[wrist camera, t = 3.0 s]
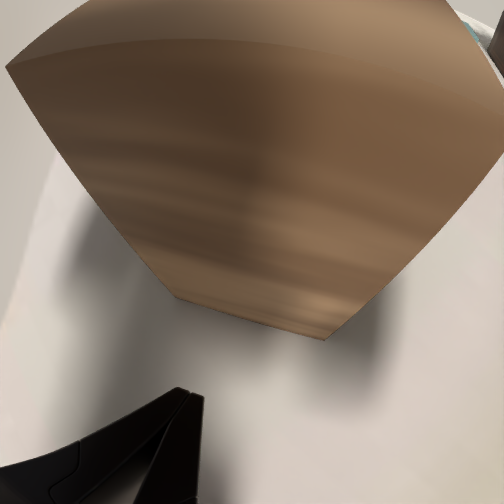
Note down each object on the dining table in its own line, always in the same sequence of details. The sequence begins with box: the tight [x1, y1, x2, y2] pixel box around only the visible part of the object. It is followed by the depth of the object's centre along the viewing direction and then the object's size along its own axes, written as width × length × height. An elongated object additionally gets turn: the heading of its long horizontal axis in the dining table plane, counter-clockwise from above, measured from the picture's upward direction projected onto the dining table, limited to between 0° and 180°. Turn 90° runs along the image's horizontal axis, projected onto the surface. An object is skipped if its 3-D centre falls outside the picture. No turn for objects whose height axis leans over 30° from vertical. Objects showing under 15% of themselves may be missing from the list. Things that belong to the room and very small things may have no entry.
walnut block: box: [5, 0, 504, 341], centre depth 12 cm, size 12×8×14 cm, turn 163°
